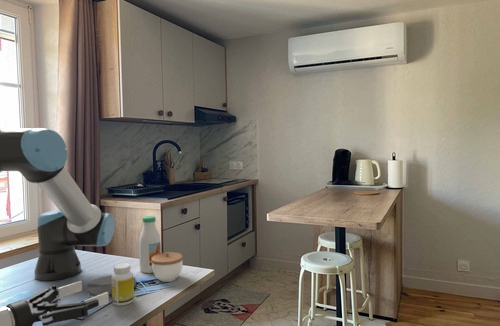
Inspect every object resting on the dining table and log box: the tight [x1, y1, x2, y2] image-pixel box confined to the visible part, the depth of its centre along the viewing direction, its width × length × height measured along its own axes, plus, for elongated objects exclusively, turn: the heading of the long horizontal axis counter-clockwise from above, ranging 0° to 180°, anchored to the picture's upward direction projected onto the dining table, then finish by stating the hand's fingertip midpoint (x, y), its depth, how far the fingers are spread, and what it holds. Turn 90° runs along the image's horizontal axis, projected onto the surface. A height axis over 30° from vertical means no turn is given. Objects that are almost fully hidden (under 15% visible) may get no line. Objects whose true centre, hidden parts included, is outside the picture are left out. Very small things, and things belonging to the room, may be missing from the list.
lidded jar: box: [151, 251, 184, 283], centre depth 130 cm, size 11×11×9 cm
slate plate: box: [86, 274, 137, 298], centre depth 123 cm, size 15×15×2 cm
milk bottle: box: [138, 215, 162, 274], centre depth 139 cm, size 8×8×20 cm
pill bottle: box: [111, 262, 135, 306], centre depth 112 cm, size 6×6×11 cm
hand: (94, 291), depth 104 cm, fingers open, 13 cm apart
